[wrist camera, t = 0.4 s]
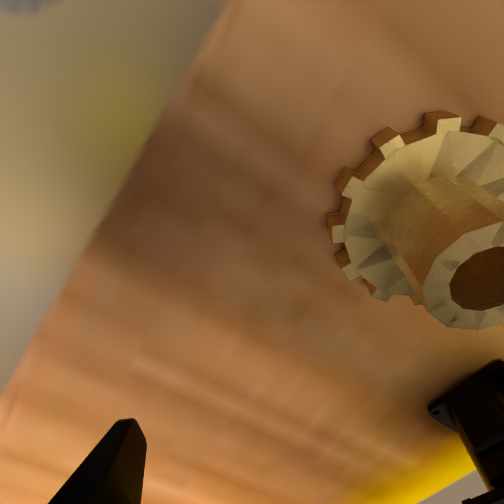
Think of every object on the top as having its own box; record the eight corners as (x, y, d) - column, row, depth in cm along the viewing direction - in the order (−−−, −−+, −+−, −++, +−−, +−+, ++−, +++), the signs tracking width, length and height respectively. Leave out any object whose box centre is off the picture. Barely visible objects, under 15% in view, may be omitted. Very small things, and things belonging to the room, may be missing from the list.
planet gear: (561, 196, 20) (681, 261, 15) (410, 315, 24) (460, 401, 19) (440, 63, 17) (536, 81, 12) (289, 225, 21) (304, 298, 15)
